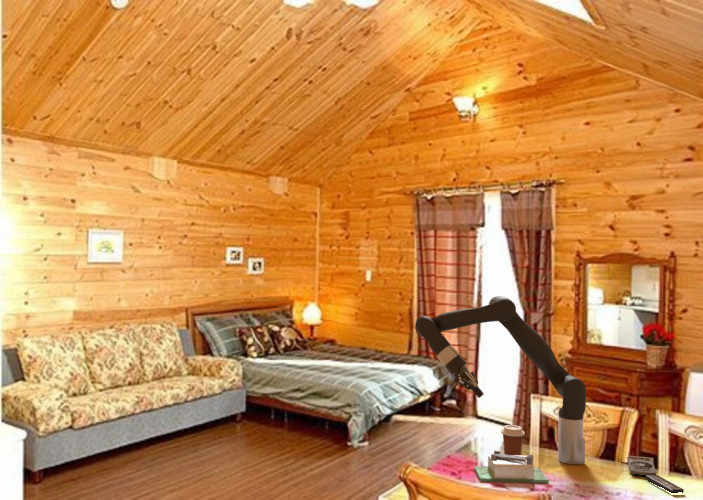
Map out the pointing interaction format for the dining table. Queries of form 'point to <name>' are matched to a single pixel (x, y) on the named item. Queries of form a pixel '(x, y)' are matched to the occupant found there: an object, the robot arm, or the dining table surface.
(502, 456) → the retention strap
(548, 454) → the dining table surface
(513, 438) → the coffee cup
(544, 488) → the dining table surface
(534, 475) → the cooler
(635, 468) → the graphics card
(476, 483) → the dining table surface
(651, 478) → the multiport hub
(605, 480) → the dining table surface
